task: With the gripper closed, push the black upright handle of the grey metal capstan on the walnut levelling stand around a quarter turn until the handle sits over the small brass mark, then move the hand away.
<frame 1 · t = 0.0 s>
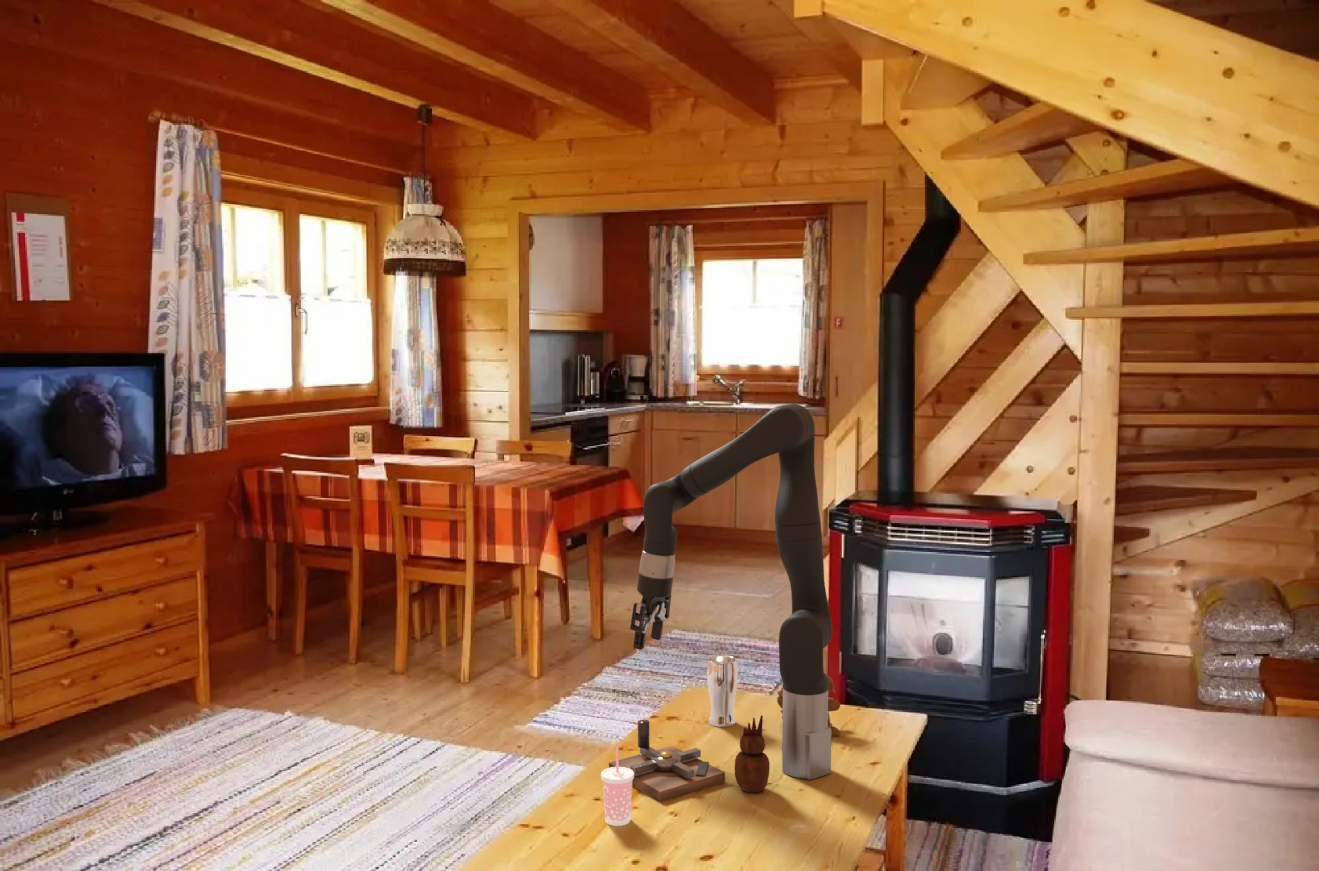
hand: (647, 643, 237), 22 cm above the table, tool pointing down, fingers open, 8 cm apart
stand: (666, 777, 220), on the table
beer glass: (722, 723, 252), on the table
wooden figurine: (752, 790, 214), on the table
beverage cup: (617, 821, 200), on the table
capstan: (664, 748, 220), point 6 cm above the table, hinge at 0.0°
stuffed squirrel: (808, 730, 247), on the table
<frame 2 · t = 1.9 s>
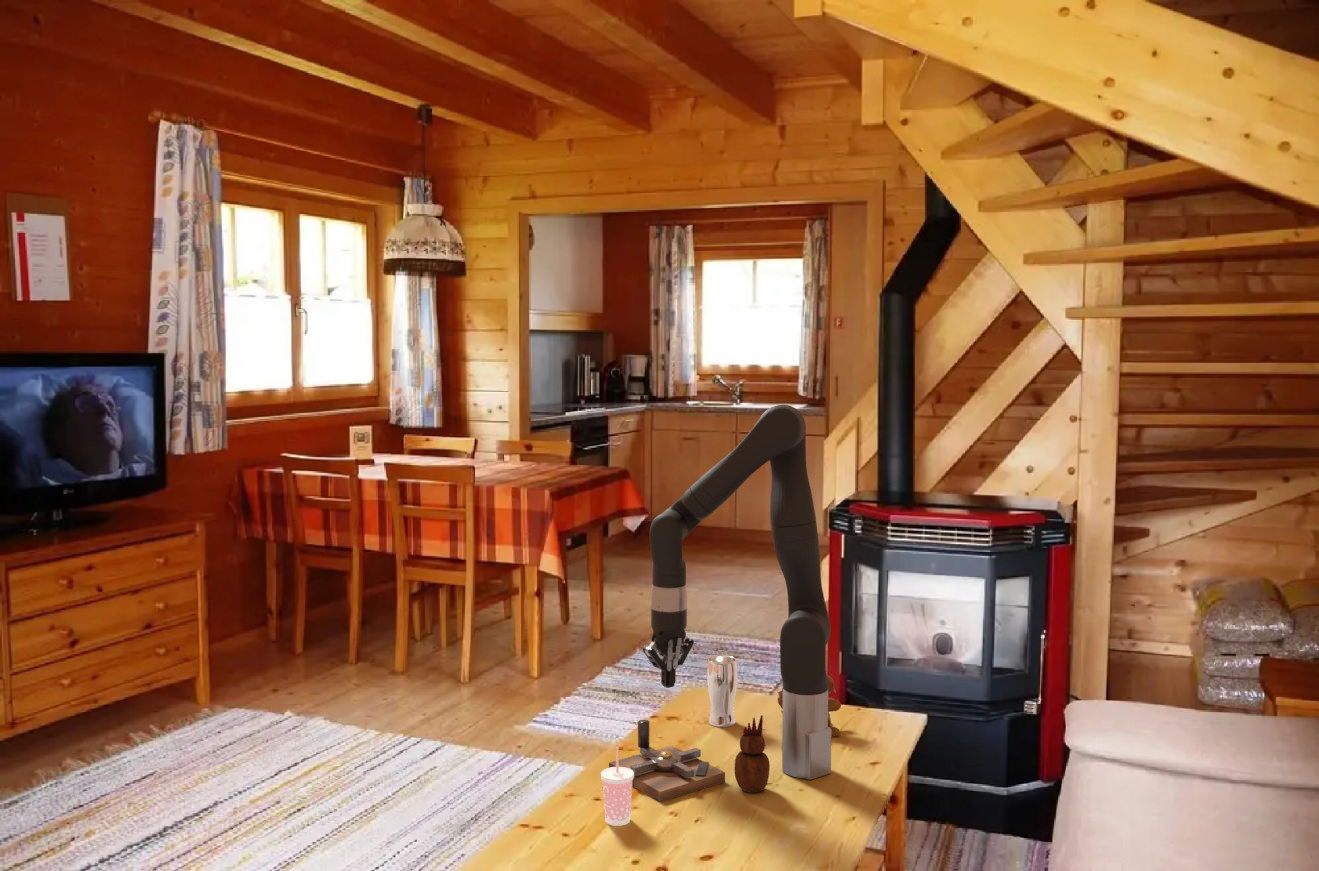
hand: (668, 686, 229), 15 cm above the table, tool pointing down, fingers closed
nothing on the table moved.
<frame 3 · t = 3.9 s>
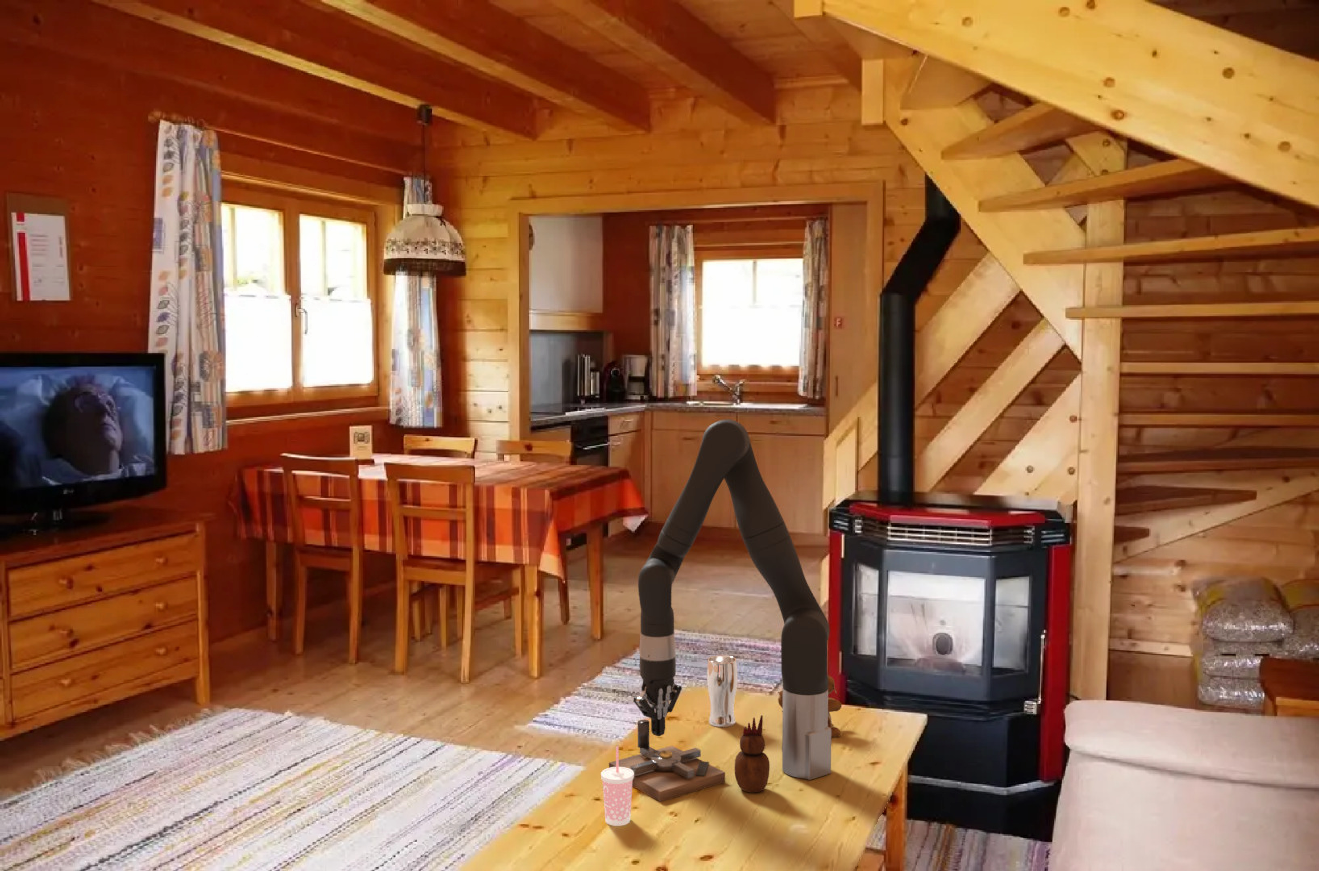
hand: (658, 734, 229), 6 cm above the table, tool pointing down, fingers closed
capstan: (664, 748, 220), point 6 cm above the table, hinge at 0.2°, touching gripper
everything else where it was.
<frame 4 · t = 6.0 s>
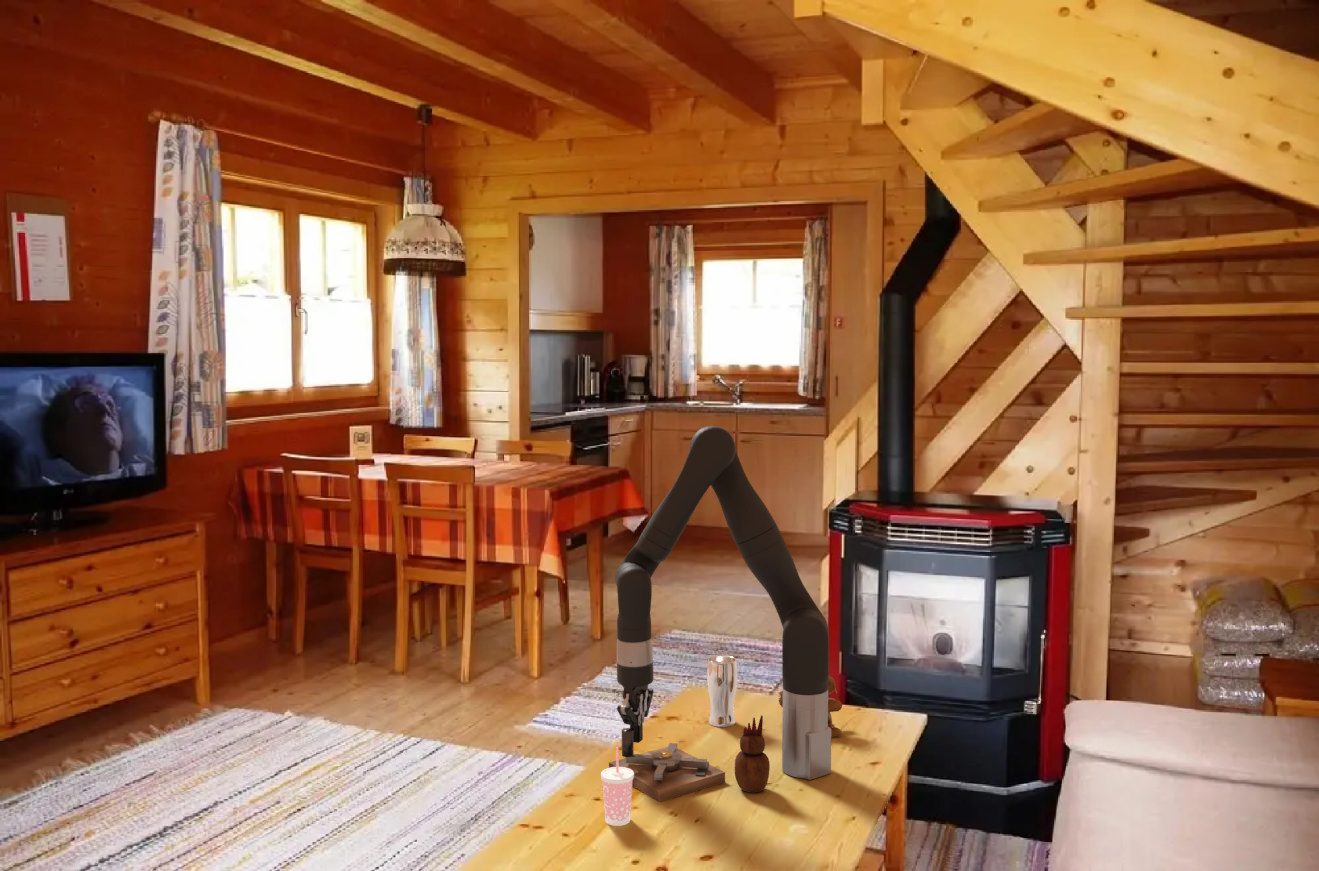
hand: (636, 741, 225), 6 cm above the table, tool pointing down, fingers closed
capstan: (663, 749, 220), point 6 cm above the table, hinge at 43.3°, touching gripper
everything else where it was.
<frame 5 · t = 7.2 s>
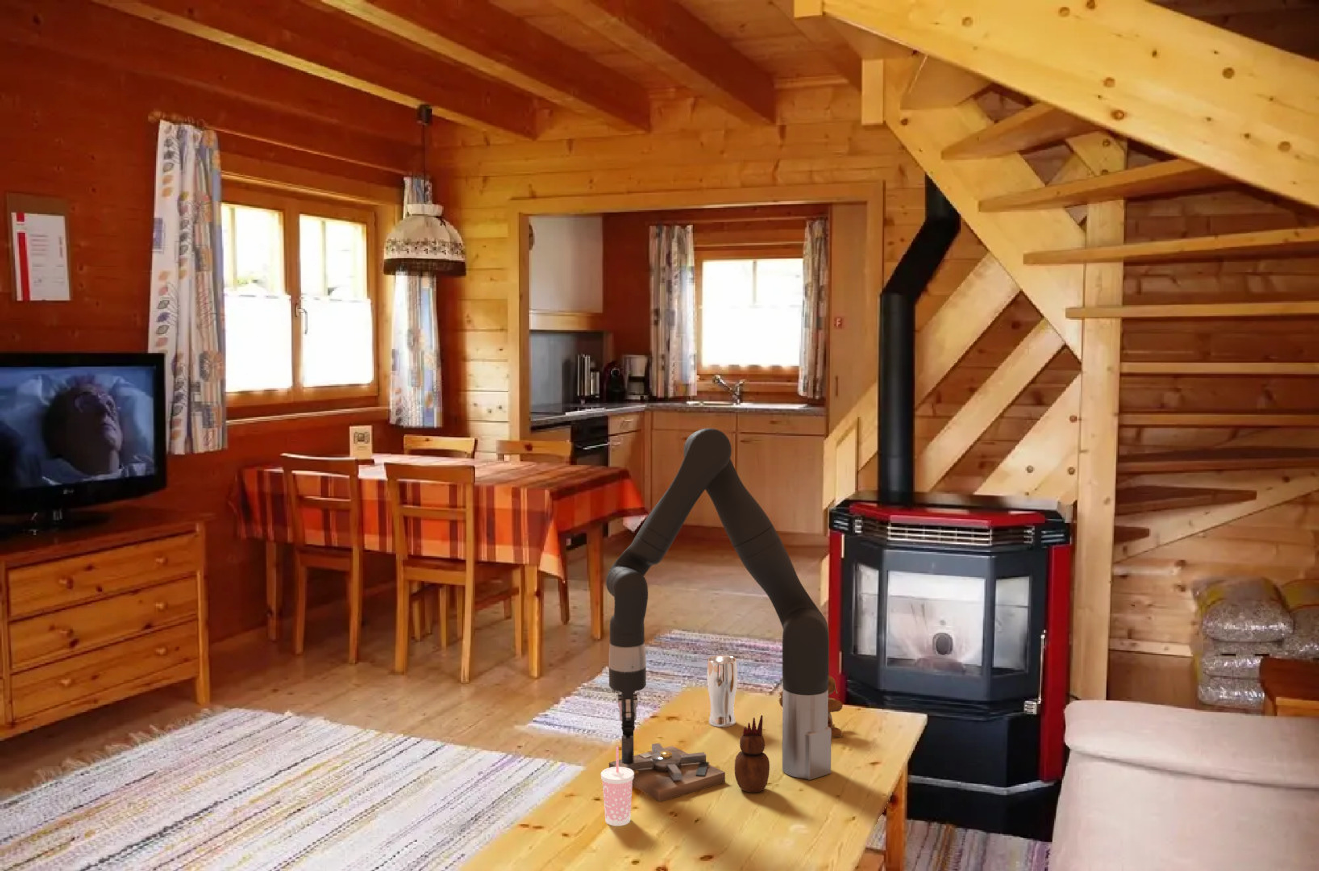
hand: (628, 746, 222), 6 cm above the table, tool pointing down, fingers closed
capstan: (663, 749, 220), point 6 cm above the table, hinge at 69.7°, touching gripper
everything else where it was.
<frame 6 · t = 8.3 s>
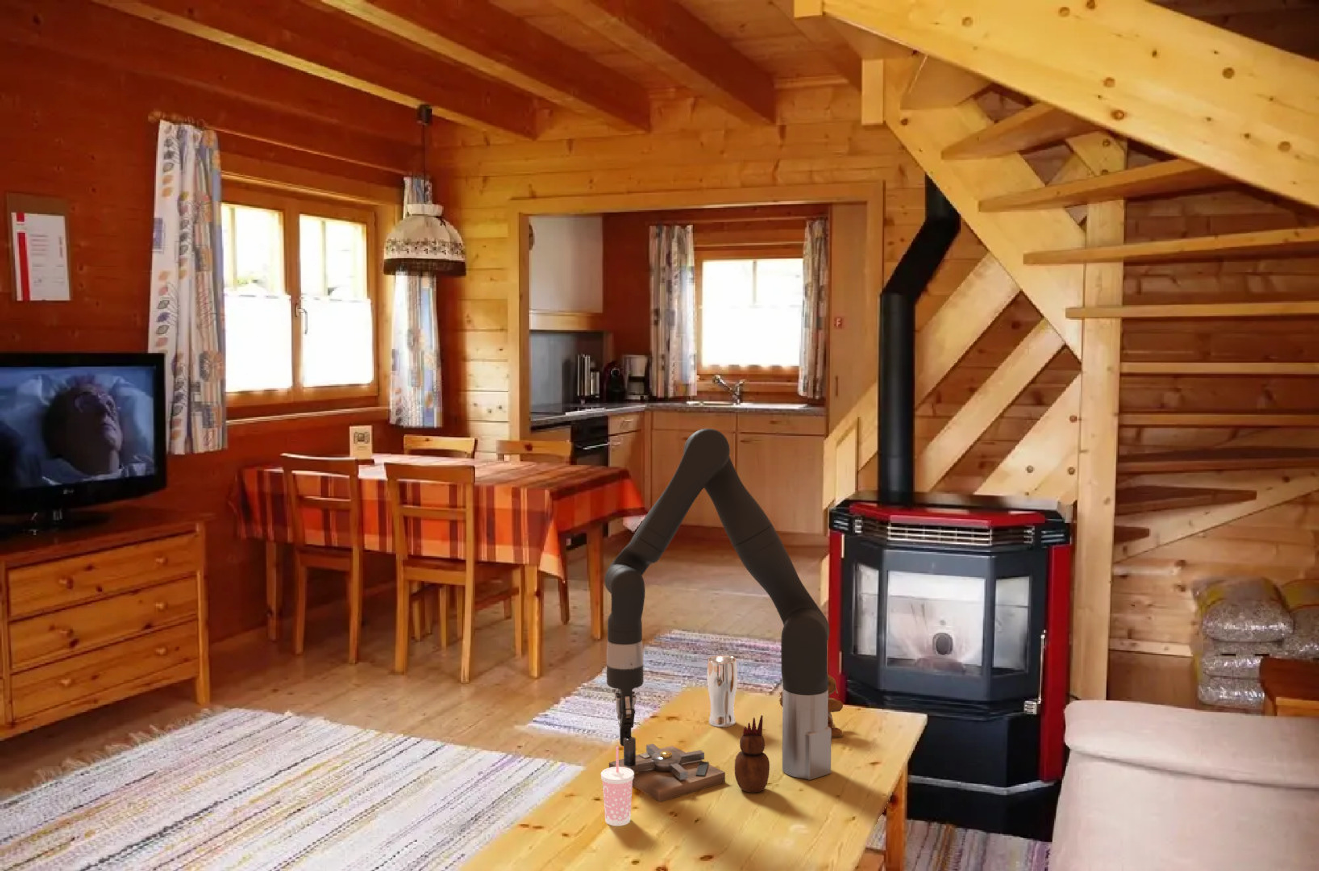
hand: (625, 744, 223), 6 cm above the table, tool pointing down, fingers closed
capstan: (663, 749, 220), point 6 cm above the table, hinge at 78.8°
everything else where it was.
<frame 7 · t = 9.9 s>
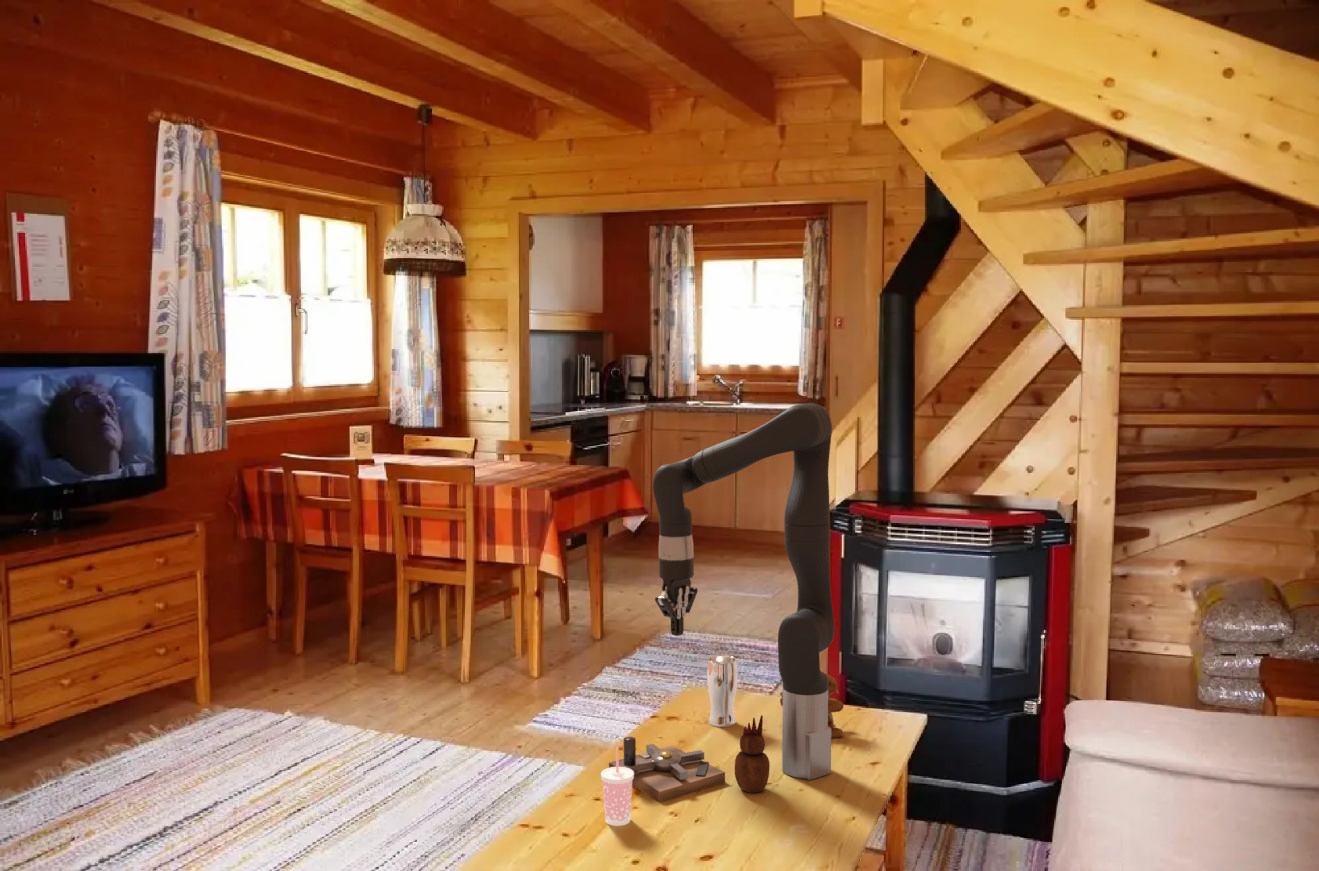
hand: (677, 634, 235), 25 cm above the table, tool pointing down, fingers closed
nothing on the table moved.
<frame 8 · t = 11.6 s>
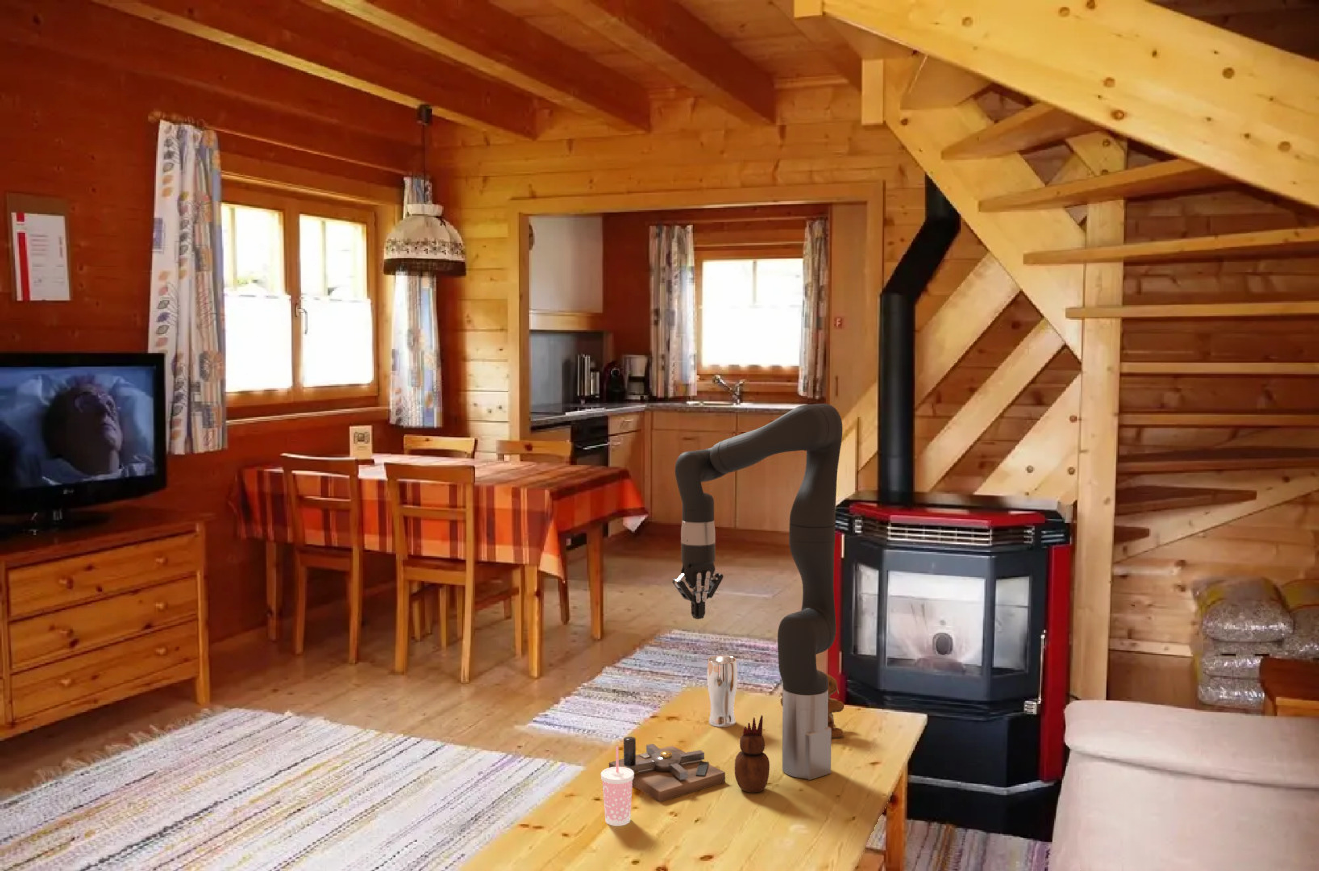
hand: (698, 618, 240), 27 cm above the table, tool pointing down, fingers closed
at the end: capstan at +79° (first picture: +0°) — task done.
